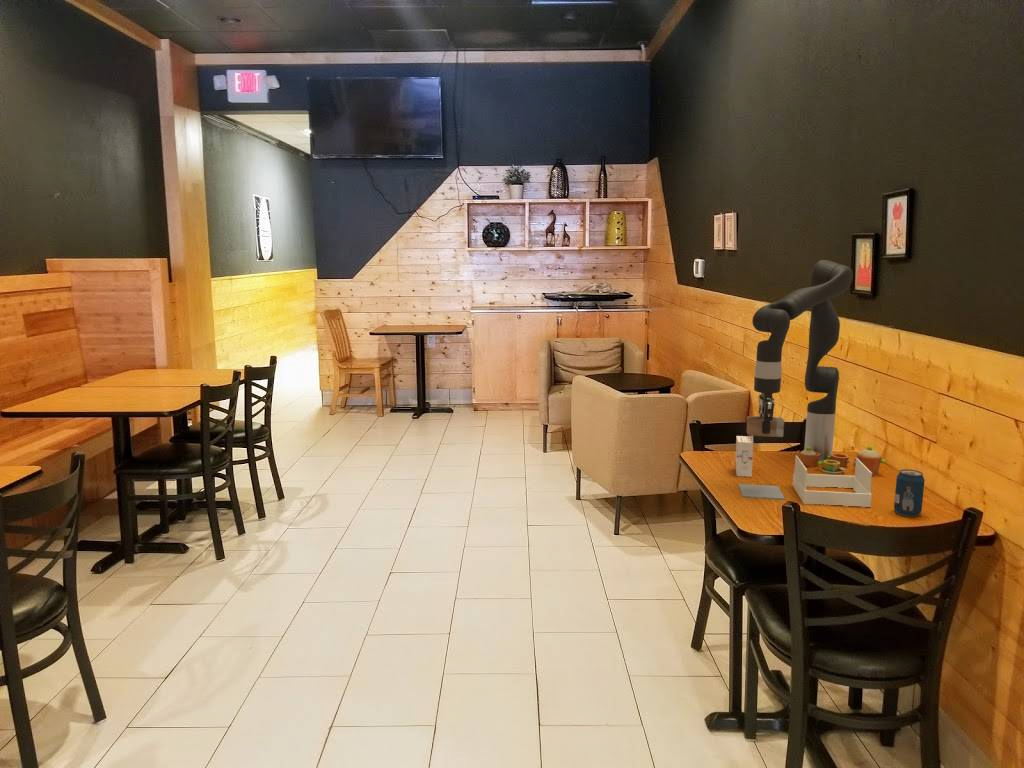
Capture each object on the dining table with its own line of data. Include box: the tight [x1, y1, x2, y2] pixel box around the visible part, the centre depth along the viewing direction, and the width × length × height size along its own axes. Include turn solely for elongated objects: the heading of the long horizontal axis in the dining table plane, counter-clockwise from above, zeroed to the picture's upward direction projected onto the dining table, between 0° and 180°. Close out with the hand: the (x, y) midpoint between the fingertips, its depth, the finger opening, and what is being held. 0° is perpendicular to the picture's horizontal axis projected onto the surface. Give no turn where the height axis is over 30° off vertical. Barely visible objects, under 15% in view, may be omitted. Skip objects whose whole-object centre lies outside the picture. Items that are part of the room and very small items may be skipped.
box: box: [745, 415, 785, 438], centre depth 226 cm, size 5×10×5 cm, turn 80°
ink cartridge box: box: [734, 435, 754, 478], centre depth 249 cm, size 9×5×15 cm, turn 168°
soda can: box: [893, 468, 926, 517], centre depth 211 cm, size 7×7×12 cm
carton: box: [792, 454, 873, 509], centre depth 226 cm, size 18×18×10 cm
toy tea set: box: [800, 445, 887, 477], centre depth 254 cm, size 26×16×10 cm, turn 81°
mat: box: [737, 483, 786, 500], centre depth 230 cm, size 12×12×1 cm
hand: (764, 431), depth 227 cm, fingers closed on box, 4 cm apart
